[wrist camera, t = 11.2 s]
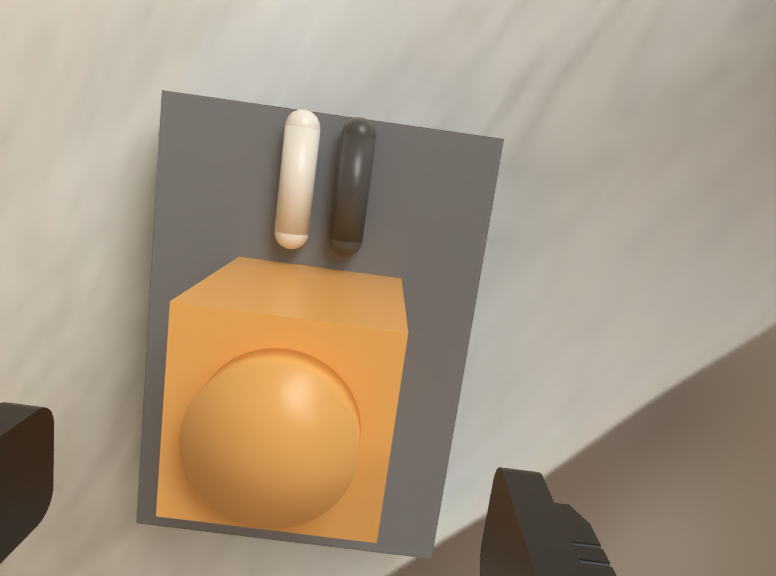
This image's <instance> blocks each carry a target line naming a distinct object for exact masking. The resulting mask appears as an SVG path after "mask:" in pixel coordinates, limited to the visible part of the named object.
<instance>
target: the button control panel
mask: <svg viewBox="0 0 776 576" xmlns="http://www.w3.org/2000/svg"><path fill="white" fill-rule="evenodd" d="M503 141H504V139H500V138H493V137H486V136H479V135H472V134H465V133H458V132H451V131H444V130H437V129H430V128H423V127H416V126H409V125H402V124H395V123H388V122H380V121H373V120H367V119H364V118H359V117H357V118H352V117H345V116H338V115H331V114H324V113H317V112H310V111H308V110H304V109H300V110H296V109H289V108H282V107H275V106H268V105H261V104H254V103H247V102H240V101H233V100H226V99H219V98H212V97H205V96H198V95H191V94H184V93H177V92H170V91H163V90H162V98H161V116H160V133H159V150H158V167H157V184H156V201H155V218H154V235H153V252H152V269H151V286H150V303H149V320H148V337H147V354H146V371H145V388H144V405H143V423H142V440H141V457H140V474H139V491H138V508H137V523H140V524H148V525H157V526H165V527H173V528H181V529H190V530H198V531H206V532H214V533H223V534H231V535H239V536H247V537H256V538H264V539H272V540H280V541H289V542H297V543H305V544H313V545H322V546H330V547H338V548H346V549H355V550H363V551H371V552H379V553H387V554H396V555H404V556H412V557H420V558H429V559H432V553H433V548H434V542H435V536H436V530H437V524H438V519H439V513H440V507H441V501H442V495H443V490H444V484H445V478H446V472H447V466H448V460H449V455H450V449H451V443H452V437H453V431H454V426H455V420H456V414H457V408H458V402H459V397H460V391H461V385H462V379H463V373H464V368H465V362H466V356H467V350H468V344H469V338H470V333H471V327H472V321H473V315H474V309H475V304H476V298H477V292H478V286H479V280H480V275H481V269H482V263H483V257H484V251H485V246H486V240H487V234H488V228H489V222H490V216H491V211H492V205H493V199H494V193H495V187H496V182H497V176H498V170H499V164H500V158H501V153H502V147H503ZM238 257H245V258H253V259H260V260H268V261H275V262H283V263H290V264H297V265H305V266H312V267H320V268H327V269H334V270H342V271H349V272H357V273H364V274H372V275H379V276H386V277H394V278H401V279H402V286H403V294H404V302H405V310H406V318H407V326H408V338H407V345H406V352H405V358H404V365H403V372H402V378H401V385H400V392H399V398H398V405H397V412H396V418H395V425H394V432H393V438H392V445H391V452H390V458H389V465H388V472H387V478H386V485H385V492H384V498H383V505H382V512H381V518H380V525H379V532H378V538H377V543H371V542H363V541H355V540H346V539H338V538H330V537H322V536H313V535H305V534H297V533H289V532H280V531H272V530H264V529H256V528H248V527H239V526H231V525H223V524H215V523H206V522H198V521H190V520H182V519H173V518H165V517H157V516H156V507H157V492H158V477H159V461H160V446H161V431H162V416H163V400H164V385H165V370H166V354H167V339H168V324H169V309H170V301H171V300H173V299H174V298H176V297H177V296H179V295H181V294H182V293H184V292H185V291H187V290H188V289H190V288H191V287H193V286H194V285H196V284H198V283H199V282H201V281H202V280H204V279H205V278H207V277H208V276H210V275H211V274H213V273H215V272H216V271H218V270H219V269H221V268H222V267H224V266H225V265H227V264H228V263H230V262H232V261H233V260H235V259H236V258H238Z"/></svg>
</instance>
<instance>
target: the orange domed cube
mask: <svg viewBox="0 0 776 576" xmlns="http://www.w3.org/2000/svg"><path fill="white" fill-rule="evenodd" d="M407 338H408V326H407V318H406V310H405V302H404V294H403V286H402V279H401V278H394V277H386V276H379V275H372V274H364V273H357V272H349V271H342V270H334V269H327V268H320V267H312V266H305V265H297V264H290V263H283V262H275V261H268V260H260V259H253V258H245V257H238V258H236V259H235V260H233V261H232V262H230V263H228V264H227V265H225V266H224V267H222V268H221V269H219V270H218V271H216V272H215V273H213V274H211V275H210V276H208V277H207V278H205V279H204V280H202V281H201V282H199V283H198V284H196V285H194V286H193V287H191V288H190V289H188V290H187V291H185V292H184V293H182V294H181V295H179V296H177V297H176V298H174V299H173V300H171V301H170V309H169V324H168V339H167V354H166V370H165V385H164V400H163V416H162V431H161V446H160V461H159V477H158V492H157V507H156V516H157V517H165V518H173V519H182V520H190V521H198V522H206V523H215V524H223V525H231V526H239V527H248V528H256V529H264V530H272V531H280V532H289V533H297V534H305V535H313V536H322V537H330V538H338V539H346V540H355V541H363V542H371V543H377V538H378V532H379V525H380V518H381V512H382V505H383V498H384V492H385V485H386V478H387V472H388V465H389V458H390V452H391V445H392V438H393V432H394V425H395V418H396V412H397V405H398V398H399V392H400V385H401V378H402V372H403V365H404V358H405V352H406V345H407Z"/></svg>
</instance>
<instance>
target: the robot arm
mask: <svg viewBox="0 0 776 576" xmlns="http://www.w3.org/2000/svg"><path fill="white" fill-rule="evenodd" d="M53 468H54V419H53V415H52V412H51V411H50V410H49V409H48V408H45V407H37V406H30V405H22V404H14V403H6V402H3V403H0V564H1V563H2V561H3V560H4V559H5V558H6V557H7V556H8V555H9V554H10V553H11V552H12V551H13V550H14V549H15V548H16V547H17V546H18V545H19V544H20V543H21V542H22V541H23V540H24V539H25V538H26V537H27V536H28V535H29V534H30V533H31V532H32V531H33V530H34V529H35V528H36V527H37V526H38V524H39V523H40V522H41V521H42V519H43V518H44V516H45V514H46V512H47V510H48V507H49V505H50V502H51V498H52V493H53ZM480 576H616V574H615V572H614V570H613V568H612V567H610V562H609V560H608V558H607V556H606V554H605V553H604V550H603V549H601V545H600V543H599V541H598V539H597V537H596V535H595V533H594V531H593V529H592V527H591V525H590V524H589V523H588V522H587V521H586V520H585V519H584V518H583V517H582V516H581V515H580V514H578V513H577V512H576V511H575V510H574V509H573V508H572V507H571V506H570V505H567V504H559V503H554V501H553V499H552V497H551V494H550V492H549V490H548V487H547V485H546V483H545V481H544V478H543V476H542V474H541V473H539V472H532V471H524V470H517V469H509V468H501V467H499V468H498V469H497V470H496V473H495V476H494V480H493V485H492V491H491V496H490V501H489V507H488V512H487V518H486V523H485V528H484V534H483V539H482V545H481V554H480Z"/></svg>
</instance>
